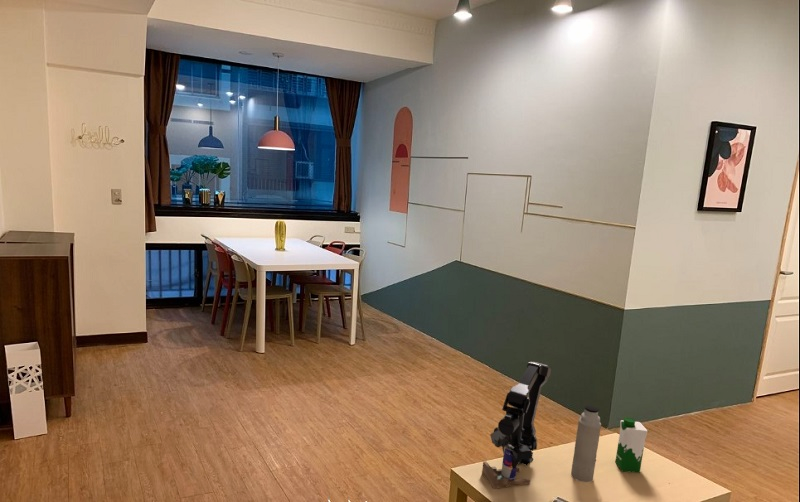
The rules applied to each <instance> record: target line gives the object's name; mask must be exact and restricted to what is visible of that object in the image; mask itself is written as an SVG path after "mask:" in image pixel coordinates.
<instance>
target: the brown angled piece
mask: <svg viewBox="0 0 800 502" xmlns="http://www.w3.org/2000/svg"><path fill="white" fill-rule="evenodd" d="M520 470H521V469H520V467H519V466H517V471H516V474H517V473H520ZM501 471H502V468H498V469H497V467H496V466H491V465H490V463H489V462H487V461H483V462H482V469H481V475H482V476H483V477H484V479H485V480H486V481H487V483H488V484H489V485H490V487H492V489H503V488H507V487H513V486H521V485H522V486H523V485H530V482H531V479H530V478H521V479H515V480H510V481H507V480H506V479H503V478H502V476H501Z"/></svg>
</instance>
